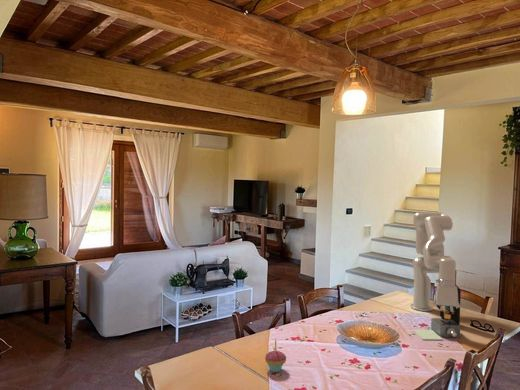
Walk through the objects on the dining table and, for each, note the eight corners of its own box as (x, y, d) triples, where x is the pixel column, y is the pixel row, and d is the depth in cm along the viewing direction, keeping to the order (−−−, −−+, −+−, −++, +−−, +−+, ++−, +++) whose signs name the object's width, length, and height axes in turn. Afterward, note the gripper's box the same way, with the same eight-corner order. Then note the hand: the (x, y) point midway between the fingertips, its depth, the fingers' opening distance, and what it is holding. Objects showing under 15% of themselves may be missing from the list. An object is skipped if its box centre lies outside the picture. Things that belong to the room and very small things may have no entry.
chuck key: (443, 331, 193) (444, 314, 193) (440, 326, 200) (441, 309, 199) (449, 332, 192) (450, 314, 192) (446, 327, 199) (447, 310, 199)
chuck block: (431, 329, 201) (431, 318, 201) (449, 329, 201) (450, 318, 201) (444, 341, 186) (445, 328, 186) (465, 341, 186) (465, 329, 186)
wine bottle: (461, 327, 205) (463, 271, 204) (446, 326, 206) (448, 271, 205) (457, 322, 212) (458, 268, 211) (442, 321, 214) (444, 268, 213)
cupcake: (264, 364, 158) (264, 335, 158) (284, 364, 159) (284, 335, 159) (266, 374, 150) (266, 344, 150) (287, 374, 151) (288, 344, 150)
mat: (412, 330, 199) (412, 329, 199) (431, 330, 199) (431, 329, 199) (422, 340, 187) (422, 338, 187) (442, 340, 187) (443, 339, 187)
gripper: (431, 283, 194) (429, 319, 194) (466, 285, 190) (465, 322, 190) (428, 279, 201) (427, 314, 201) (462, 282, 197) (461, 317, 197)
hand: (445, 318), depth 196 cm, fingers closed on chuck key, 2 cm apart
